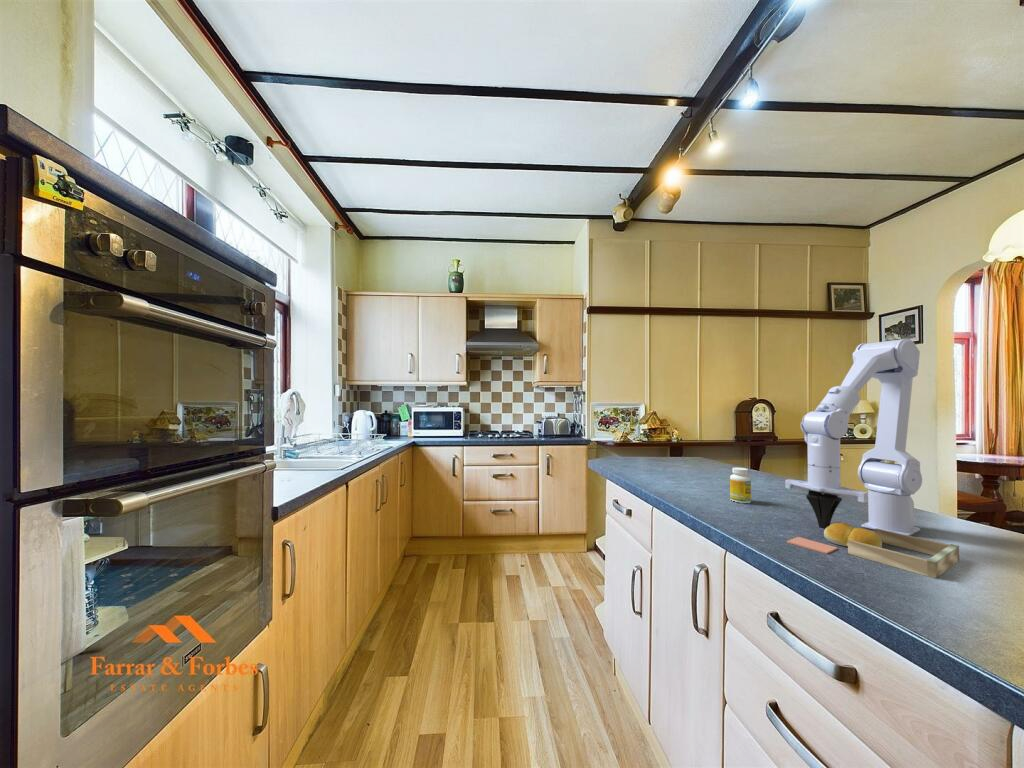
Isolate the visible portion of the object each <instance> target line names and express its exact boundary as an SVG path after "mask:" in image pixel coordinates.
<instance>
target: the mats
mask: <svg viewBox="0 0 1024 768" xmlns="http://www.w3.org/2000/svg"><path fill="white" fill-rule="evenodd" d="M786 543H788V544H791V545H794V546H797V547H801V548H805V549H807V550H811V551H815V552H818V553H821V554H825V555H828V554H831V553H832V552H834V551H837V550H838V547H836V546H833V545H829V544H825V543H821V542H819V541H815V540H810V539H807V538H804V537H800V536H797V537H795V538H792V539H789V540H786Z"/></svg>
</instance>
